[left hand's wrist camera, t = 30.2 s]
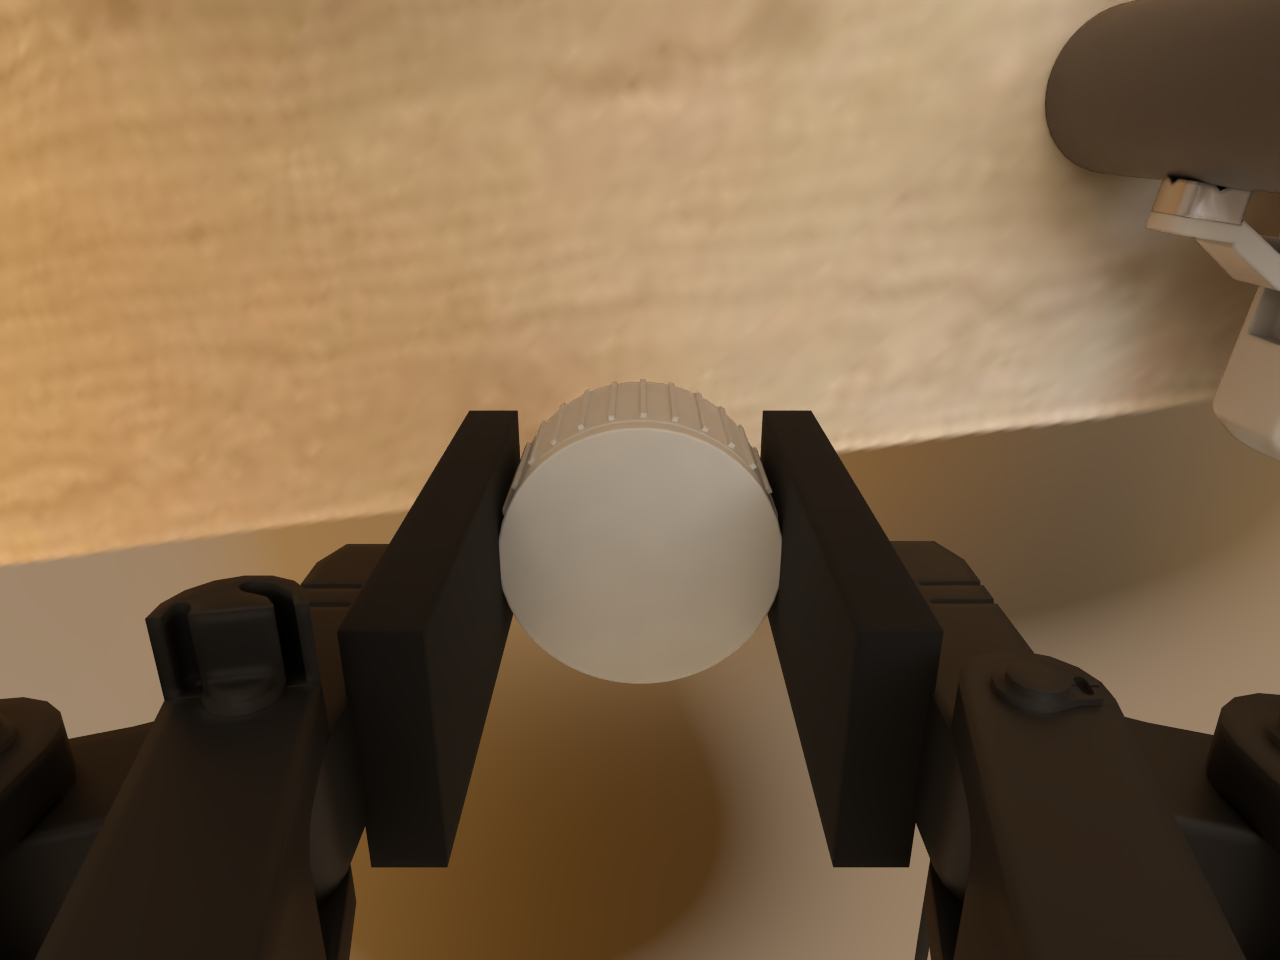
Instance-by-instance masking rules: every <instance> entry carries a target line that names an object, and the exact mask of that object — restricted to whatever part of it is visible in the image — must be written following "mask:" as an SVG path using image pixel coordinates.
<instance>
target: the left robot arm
mask: <svg viewBox="0 0 1280 960" xmlns="http://www.w3.org/2000/svg"><path fill="white" fill-rule="evenodd" d="M760 459H761V462H762V465H763V468H764V470H765V473H766V476H767V479H768V481H769V484H770V487H771V490H772V493H770V494H771V497H772V500H773V502H774V505H775V508H776V511H777V514H778V522H779V526H780V530H781V534H782V546H781V562H780V577H779V588H778V591H777V594H776V597H775V600H774V602H773V604H772V606H771V608H770V610H769V612H768V614H767V615H768V618H769V622H770V626H771V630H772V634H773V638H774V641H775V645H776V649H777V653H778V657H779V661H780V664H781V668H782V672H783V676H784V680H785V684H786V687H787V691H788V695H789V699H790V703H791V707H792V711H793V714H794V718H795V722H796V726H797V730H798V733H799V737H800V741H801V745H802V749H803V753H804V757H805V760H806V764H807V768H808V772H809V776H810V780H811V784H812V787H813V791H814V795H815V799H816V803H817V807H818V810H819V814H820V818H821V822H822V826H823V830H824V833H825V837H826V841H827V845H828V849H829V852H830V857H831V860H832V864H833V867H909V864H910V857H911V851H912V844H913V837H914V830H915V824H917V827H918V829H919V832H920V834H921V837H922V839H923V842H924V844H925V847H926V849H927V852H928V854H929V857H930V864H929V871H928V877H927V883H926V889H925V896H924V902H923V908H922V915H921V921H920V928H919V934H918V940H917V947H916V954H915V960H927V957H928V952H929V946H930V954H931V960H1280V695H1275V694H1263V693H1257V694H1251V695H1246V696H1239V697H1235V698H1233V699H1232V700H1231V701H1230V702H1228V703H1227V704H1226V705H1225V706H1223V707H1222V709H1221V712H1220V715H1219V719H1218V722H1217V726H1216V729H1215V733H1214V735H1210V734H1204V733H1199V732H1194V731H1189V730H1184V729H1178V728H1173V727H1168V726H1163V725H1157V724H1152V723H1147V722H1143V721H1139V720H1135V719H1131V718H1127V717H1124V715H1123V713H1122V711H1121V709H1120V707H1119V705H1118V703H1117V701H1116V699H1115V698H1114V697H1113V696H1112V694H1111V693H1110V692H1109V691H1108V690H1107V689H1106V687H1105V686H1104V685H1103V684H1102V682H1100V681H1099V680H1097V679H1095V678H1094V677H1092V676H1091V675H1089V674H1088V673H1086V672H1085V671H1083V670H1081V669H1080V668H1078V667H1076V666H1073V665H1071V664H1068V663H1066V662H1063V661H1060V660H1058V659H1055V658H1053V657H1050V656H1045V655H1040V654H1034V652H1033V651H1032V650H1031V648H1030V647H1029V646H1028V644H1027V643H1026V642H1025V640H1024V639H1023V638H1022V636H1021V635H1020V634H1019V632H1018V631H1017V630H1016V628H1015V627H1014V626H1013V624H1012V623H1011V622H1010V620H1009V619H1008V618H1007V616H1006V615H1005V614H1004V612H1003V611H1002V610H1001V608H1000V607H999V606H998V604H994V599H993V598H992V596H991V595H990V593H989V592H988V591H987V590H986V588H985V587H984V586H983V585H980V580H979V579H978V577H977V576H976V575H975V573H974V572H973V571H972V569H971V568H970V567H969V565H968V564H967V563H966V562H965V560H964V559H962V558H961V557H959V556H957V555H956V554H954V553H953V552H951V551H949V550H948V549H946V548H944V547H943V546H941V545H939V544H938V543H936V542H934V541H889V539H888V538H887V536H886V534H885V533H884V531H883V529H882V528H881V526H880V524H879V523H878V521H877V519H876V518H875V516H874V514H873V513H872V511H871V510H870V508H869V506H868V505H867V503H866V501H865V500H864V498H863V496H862V495H861V493H860V491H859V490H858V488H857V486H856V485H855V483H854V481H853V480H852V478H851V476H850V475H849V473H848V471H847V470H846V468H845V466H844V465H843V463H842V461H841V460H840V458H839V456H838V455H837V453H836V451H835V450H834V448H833V446H832V445H831V443H830V441H829V440H828V438H827V436H826V435H825V433H824V431H823V430H822V428H821V426H820V425H819V423H818V421H817V420H816V418H815V416H814V415H813V413H812V411H763V419H762V438H761V456H760ZM519 463H520V446H519V427H518V411H469V412H468V414H467V416H466V417H465V419H464V421H463V422H462V424H461V426H460V427H459V429H458V431H457V432H456V434H455V436H454V437H453V439H452V441H451V442H450V444H449V446H448V447H447V449H446V451H445V452H444V454H443V456H442V457H441V459H440V461H439V462H438V464H437V466H436V467H435V469H434V471H433V472H432V474H431V476H430V477H429V479H428V481H427V482H426V484H425V486H424V487H423V489H422V491H421V492H420V494H419V496H418V497H417V499H416V501H415V502H414V504H413V506H412V507H411V509H410V511H409V512H408V514H407V516H406V517H405V519H404V521H403V522H402V524H401V526H400V527H399V529H398V531H397V532H396V534H395V535H394V537H393V539H392V541H391V542H390V544H346V545H345V546H343V547H341V548H340V549H338V550H337V551H335V552H333V553H332V554H330V555H328V556H327V557H325V558H324V559H322V560H320V561H319V562H317V563H316V565H315V566H314V567H313V569H312V570H311V571H310V573H309V574H308V575H307V577H306V578H305V579H304V581H303V582H302V583H301V585H299V584H298V583H297V582H295V581H293V580H289V579H285V578H280V577H276V576H240V577H234V578H228V579H222V580H216V581H212V582H209V583H206V584H203V585H200V586H197V587H194V588H191V589H188V590H185V591H183V592H181V593H179V594H177V595H175V596H174V597H172V598H170V599H168V600H166V601H164V602H163V603H161V604H160V605H159V606H158V607H157V608H156V609H155V610H154V611H153V612H152V613H151V614H150V615H149V616H148V617H147V618H146V619H145V621H146V625H147V629H148V633H149V637H150V641H151V646H152V650H153V654H154V658H155V662H156V666H157V671H158V675H159V679H160V683H161V687H162V692H163V696H164V700H165V701H164V703H163V705H162V707H161V709H160V711H159V713H158V715H157V717H156V719H155V721H154V722H150V723H146V724H142V725H138V726H134V727H129V728H123V729H118V730H113V731H108V732H103V733H97V734H92V735H87V736H82V737H77V738H71V739H68V737H67V733H66V730H65V727H64V723H63V720H62V716H61V713H60V711H58V710H57V709H56V708H55V707H53V706H52V705H51V704H50V703H48V702H47V701H42V700H36V699H31V698H25V697H20V698H9V699H0V960H349V957H350V948H351V940H352V932H353V924H354V916H355V908H356V897H355V891H354V883H353V877H352V871H351V865H350V863H351V861H352V858H353V856H354V853H355V851H356V848H357V845H358V843H359V840H360V838H361V835H362V833H363V830H364V828H365V826H366V833H367V840H368V847H369V853H370V860H371V867H447V866H448V862H449V859H450V855H451V851H452V847H453V843H454V840H455V836H456V832H457V828H458V824H459V820H460V817H461V813H462V809H463V805H464V801H465V797H466V793H467V790H468V786H469V782H470V778H471V774H472V770H473V767H474V763H475V759H476V755H477V751H478V747H479V743H480V740H481V736H482V732H483V728H484V724H485V720H486V717H487V713H488V709H489V705H490V701H491V697H492V694H493V690H494V686H495V682H496V678H497V674H498V671H499V667H500V663H501V659H502V655H503V651H504V647H505V643H506V639H507V636H508V632H509V628H510V624H511V621H512V617H513V612H512V610H511V608H510V607H509V605H508V602H507V600H506V597H505V595H504V592H503V589H502V582H501V569H500V553H499V534H500V529H501V525H502V521H503V518H504V515H503V512H502V509H503V506H504V503H505V501H506V498H507V495H508V492H509V490H510V487H511V484H512V481H513V478H514V476H515V473H516V470H517V467H518V466H519Z"/></svg>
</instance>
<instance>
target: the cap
mask: <svg viewBox="0 0 1280 960" xmlns="http://www.w3.org/2000/svg"><path fill="white" fill-rule="evenodd" d="M770 493H772V490H771V487H770V484H769V481H768V479H767V476H766V473H765V470H764V468H763V465H762V462H761V459H760V457H759V454H758V451H757V449H756V447H753V448H752V447H751V445H750V444H749V442H748V440H747V437H746V434H745V431H744V428H743V427H742V426H741V425H739V426H737V425H736V424H735V422H734V421H733V420H732V419H730V418H729V417H728V416H727V415H726V412H725V409H724V408H723V407H722V406H720V407H719V408H718V407H716V406H715V405H714V404H712V403H711V402H709V401H708V400H706V399H704V398H702V396H701V393H699V392H696V393H692V392H689V391H687V390H684V389H681V388H678V387H675V386H674V384H673V383H669V385H666V384H660V383H651V382H646V380H645V379H641V380H640V382H628V383H621V384H617V382H612V384H611V385H610V386H607V387H603V388H599V389H596V390H594V391H591V392H590V390H586V391H585V392H584V395H582V396H580V397H578V398H577V399H575V400H573V401H572V402H570V403H568V404H567V405H566V404H565V403H563V404H562V405H560V409H559V411H558V412H557V413H555V414H554V415H553V416H552V417H551V418H550V419H549V420H548V421H547V422H545V421H543V422H542V423H541V424H540V427H539V430H538V433H537V435H536V436H535V438H534V440H533V441H532V443H531V444H530V443H527V444H526V446H525V449H524V452H523V455H522V457H521V460H520V463H519V466H518V467H517V470H516V473H515V476H514V478H513V481H512V484H511V487H510V490H509V492H508V495H507V498H506V501H505V503H504V506H503V509H502V512H503V515H504V518H503V521H502V525H501V529H500V534H499V553H500V569H501V582H502V589H503V592H504V595H505V597H506V600H507V602H508V605H509V607H510V608H511V610H512V612H513V614H514V616H515V617H516V619H517V621H518V622H519V623H520V625H521V626H522V627H523V629H524V630H525V631H526V633H527V634H528V635H529V636H530V637H531V638H532V639H533V640H534V641H535V642H536V643H537V644H538V645H539V646H540V647H541V648H542V649H544V650H545V651H546V652H547V653H549V654H550V655H551V656H553V657H554V658H556V659H557V660H559V661H561V662H562V663H564V664H565V665H567V666H569V667H571V668H573V669H576V670H578V671H580V672H582V673H585V674H588V675H591V676H594V677H597V678H600V679H605V680H610V681H615V682H623V683H633V684H639V683H658V682H666V681H671V680H676V679H680V678H684V677H687V676H690V675H693V674H696V673H698V672H701V671H703V670H705V669H707V668H709V667H711V666H713V665H715V664H717V663H719V662H720V661H722V660H724V659H725V658H727V657H728V656H730V655H731V654H732V653H734V652H735V651H736V650H737V649H738V648H739V647H741V646H742V645H743V644H744V643H745V642H746V641H747V640H748V639H749V638H750V637H751V636H752V635H753V634H754V632H755V631H756V630H757V629H758V627H759V626H760V624H761V623H762V622H763V620H764V619H765V617H766V616H767V614H768V612H769V610H770V608H771V606H772V604H773V602H774V600H775V597H776V594H777V591H778V588H779V577H780V562H781V546H782V534H781V530H780V526H779V522H778V514H777V511H776V508H775V505H774V502H773V500H772V497H771V494H770Z"/></svg>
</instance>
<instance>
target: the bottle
mask: <svg viewBox="0 0 1280 960" xmlns="http://www.w3.org/2000/svg"><path fill="white" fill-rule="evenodd" d="M1046 116H1047V122H1048V126H1049V129H1050V133H1051V135H1052V137H1053V139H1054V141H1055V143H1056V145H1057V146H1058V148H1059V149H1060V151H1061V152H1062V153H1063V154H1064V155H1065V156H1066V157H1067V158H1068V159H1069V160H1071V161H1072V162H1073V163H1075V164H1076V165H1078V166H1080V167H1082V168H1084V169H1087V170H1090V171H1093V172H1098V173H1104V174H1113V175H1122V176H1131V177H1140V178H1149V179H1158V180H1163V178H1172V179H1182V180H1190V181H1198V182H1204V183H1209V184H1212V185H1216V186H1220V187H1229V188H1238V189H1247V190H1256V191H1264V192H1273V193H1280V0H1135V1H1131V2H1127V3H1123V4H1119V5H1117V6H1114V7H1111V8H1109V9H1107V10H1105V11H1103V12H1101V13H1099V14H1097V15H1096V16H1095V17H1093V18H1092V19H1090V20H1089V21H1088V22H1086V23H1085V24H1084V25H1083V26H1082V27H1081V28H1079V30H1078V31H1077V32H1076V33H1075V34H1074V35H1073V36H1072V37H1071V38H1070V40H1069V41H1068V42H1067V44H1066V45H1065V46H1064V48H1063V49H1062V51H1061V53H1060V55H1059V56H1058V58H1057V60H1056V62H1055V65H1054V67H1053V69H1052V72H1051V75H1050V78H1049V82H1048V87H1047V92H1046Z"/></svg>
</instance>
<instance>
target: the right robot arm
mask: <svg viewBox="0 0 1280 960" xmlns="http://www.w3.org/2000/svg"><path fill="white" fill-rule="evenodd" d="M1252 191H1253V190H1247V189H1238V188H1229V187H1220V186H1216V185H1212V184H1209V183H1204V182H1198V181H1190V180H1182V179H1172V178H1163V181H1162V183H1161V186H1160V189H1159V192H1158V194H1157V197H1156V200H1155V202H1154V205H1153V208H1152V212H1151V214H1150V217H1149V220H1148V223H1147V226H1146V228H1147V229H1151V230H1156V231H1161V232H1166V233H1171V234H1177V235H1182V236H1188V237H1194V238H1196V241H1197V242H1198V243H1199V244H1200V245H1201V246H1202V247H1203V248H1204V249H1205V250H1206V251H1207V252H1208V253H1209V254H1210V255H1211V256H1212V257H1213V258H1214V259H1215V260H1216V262H1217V263H1218V264H1219V265H1220V266H1221V267H1222V268H1223V269H1224V270H1225V271H1226V272H1227V273H1228V274H1229V275H1230V276H1231V277H1232V278H1233V279H1236V280H1240V281H1243V282H1247V283H1251V284H1255V285H1258V286H1259V287H1258V289H1257V292H1256V294H1255V297H1254V299H1253V302H1252V304H1251V307H1250V309H1249V312H1248V314H1247V317H1246V319H1245V322H1244V324H1243V327H1242V329H1241V332H1240V334H1239V337H1238V339H1237V342H1236V344H1235V347H1234V349H1233V352H1232V354H1231V357H1230V359H1229V362H1228V364H1227V367H1226V369H1225V372H1224V374H1223V377H1222V379H1221V382H1220V384H1219V387H1218V389H1217V391H1216V394H1215V397H1214V400H1213V405H1212V406H1213V411H1214V413H1215V415H1216V416H1217V418H1218V419H1219V421H1220V422H1221V423H1222V425H1223V426H1224V427H1225V428H1226V430H1227V431H1228V432H1229V433H1230V434H1231V435H1232V436H1233V437H1234V438H1236V439H1237V440H1239V441H1240V442H1242V443H1244V444H1245V445H1247V446H1249V447H1251V448H1252V449H1254V450H1256V451H1258V452H1260V453H1262V454H1265V455H1267V456H1269V457H1271V458H1274V459H1276V460H1278V461H1280V234H1279V237H1273V236H1266V235H1259V234H1258V233H1257V232H1256V231H1255V230H1254V229H1253V228H1251V227H1250V226H1249V225H1248V224H1247V223H1246V222H1245V221H1244V220H1242V219H1243V216H1244V213H1245V211H1246V208H1247V205H1248V202H1249V199H1250V196H1251V193H1252ZM1154 211H1155V212H1154ZM1160 212H1161V213H1160Z"/></svg>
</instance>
